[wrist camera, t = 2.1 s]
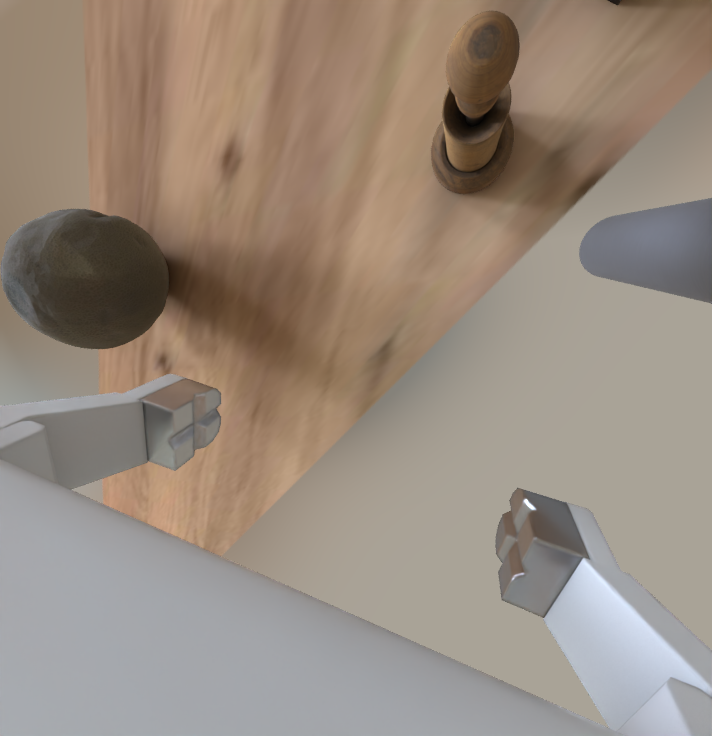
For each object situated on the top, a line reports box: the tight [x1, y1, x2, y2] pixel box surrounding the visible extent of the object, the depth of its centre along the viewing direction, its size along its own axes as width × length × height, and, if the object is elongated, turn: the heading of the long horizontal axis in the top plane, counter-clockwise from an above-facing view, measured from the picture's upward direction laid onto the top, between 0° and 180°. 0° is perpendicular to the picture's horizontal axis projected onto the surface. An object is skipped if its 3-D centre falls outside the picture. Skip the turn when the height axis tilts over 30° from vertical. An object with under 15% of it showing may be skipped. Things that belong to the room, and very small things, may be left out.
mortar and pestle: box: [431, 11, 519, 194], centre depth 22 cm, size 7×6×18 cm
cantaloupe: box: [1, 209, 169, 349], centre depth 37 cm, size 14×14×15 cm
